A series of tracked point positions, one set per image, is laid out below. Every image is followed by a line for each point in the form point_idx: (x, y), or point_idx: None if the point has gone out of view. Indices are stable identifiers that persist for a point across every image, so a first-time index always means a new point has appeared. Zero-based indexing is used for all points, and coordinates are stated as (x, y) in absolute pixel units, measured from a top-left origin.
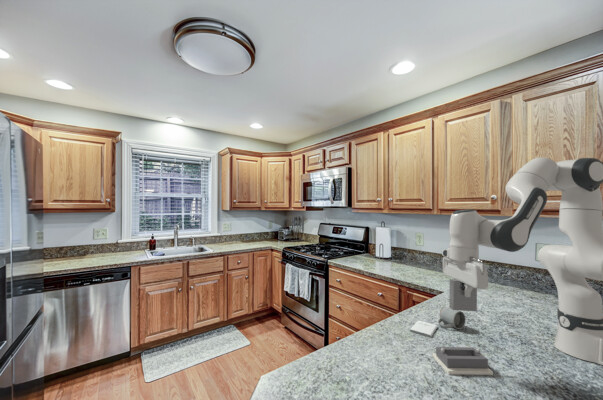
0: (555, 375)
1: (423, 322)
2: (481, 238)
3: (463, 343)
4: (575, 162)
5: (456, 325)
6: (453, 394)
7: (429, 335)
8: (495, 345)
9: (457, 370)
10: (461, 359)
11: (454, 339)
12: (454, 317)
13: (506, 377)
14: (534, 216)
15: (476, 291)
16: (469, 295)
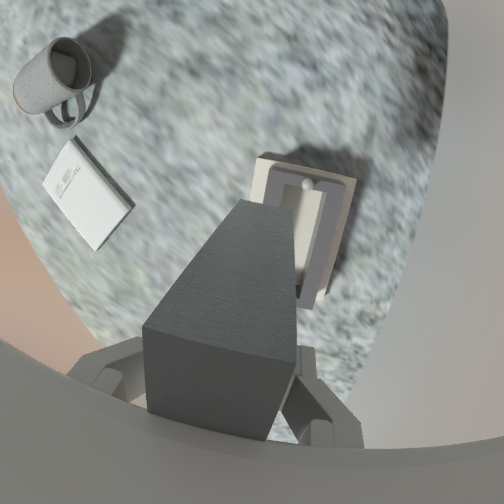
0: (380, 6)
1: (53, 176)
2: None
3: (174, 118)
4: None
5: (75, 70)
6: (378, 333)
7: (127, 212)
8: (203, 19)
9: (327, 277)
10: (323, 269)
11: (147, 131)
12: (65, 86)
13: (371, 149)
14: None
15: (294, 279)
16: (311, 360)
